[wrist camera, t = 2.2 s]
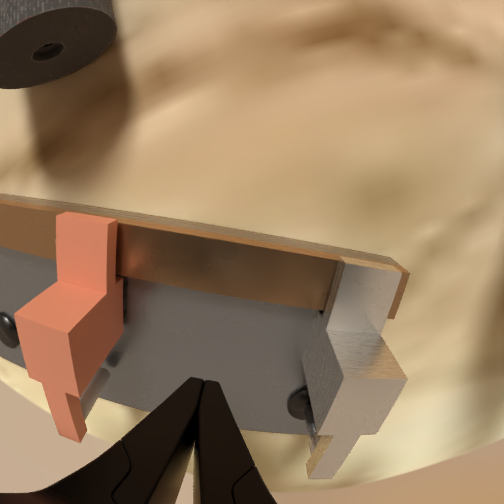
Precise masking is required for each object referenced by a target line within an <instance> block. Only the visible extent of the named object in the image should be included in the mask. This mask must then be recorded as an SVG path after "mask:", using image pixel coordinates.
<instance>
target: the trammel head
mask: <svg viewBox="0 0 504 504" xmlns="http://www.w3.org/2000/svg"><path fill="white" fill-rule="evenodd" d="M117 223H118V219H112V218H106V217H100V216H94V215H87V214H81V213H75V212H65V213H62V214H59V215H56V260H57V279H58V281H57V282H56V283H54V284H53V285H51V286H50V287H49V288H47V289H46V290H45V291H43V292H42V293H41V294H39V295H38V296H37V297H35V298H34V299H32V300H31V301H30V302H29V303H27V304H26V305H25V306H23V307H22V308H21V309H19V310H18V311H17V312H16V313H14V317H15V322H16V327H17V332H18V336H19V341H20V345H21V349H22V353H23V357H24V361H25V364H26V368H27V371H28V375H29V377H30V378H32V379H35V380H37V381H39V382H41V383H42V385H43V389H44V392H45V395H46V398H47V401H48V404H49V407H50V410H51V413H52V416H53V419H54V421H55V424H56V427H57V430H58V432H59V435H61V436H64V437H66V438H68V439H71V440H74V441H76V442H78V443H81V441H82V439H83V437H84V435H85V433H86V432H87V428H86V424H85V419H86V418H87V416H88V414H89V412H90V411H91V409H92V407H93V405H94V404H95V402H96V400H97V398H98V397H99V395H100V393H101V391H102V390H103V388H104V386H105V385H106V383H107V381H108V380H109V378H110V373H109V371H108V370H107V369H105V368H102V367H100V366H101V364H102V363H103V362H104V360H105V359H106V357H107V356H108V354H109V353H110V351H111V350H112V348H113V347H114V345H115V344H116V342H117V341H118V339H119V338H120V337H121V335H122V334H123V277H119V276H115V270H116V241H117ZM99 367H100V368H99Z"/></svg>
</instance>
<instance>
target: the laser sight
mask: <svg viewBox="0 0 504 504" xmlns="http://www.w3.org/2000/svg"><path fill="white" fill-rule="evenodd" d="M116 32H117V27H116V23H115V19H114V15H113V10H112V4H111V0H0V88H1V89H20V88H27V87H32V86H36V85H40V84H44V83H47V82H50V81H53V80H56V79H58V78H61V77H63V76H66V75H68V74H70V73H72V72H74V71H76V70H78V69H80V68H82V67H84V66H85V65H87V64H89V63H90V62H92V61H93V60H95V59H96V58H97V57H99V56H100V55H101V54H102V53H103V52H104V51H105V50H106V49H107V48H108V47H109V46H110V45H111V43H112V42H113V40H114V38H115V36H116Z"/></svg>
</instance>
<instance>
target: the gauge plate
mask: <svg viewBox="0 0 504 504" xmlns="http://www.w3.org/2000/svg"><path fill="white" fill-rule="evenodd" d="M65 212H75V213H81V214H87V215H94V216H100V217H106V218H112V219H118V223H117V241H116V270H115V276H119V277H123V334H122V335H121V337H120V338H119V339H118V341H117V342H116V344H115V345H114V347H113V348H112V350H111V351H110V353H109V354H108V356H107V357H106V359H105V360H104V362H103V363H102V364H101V366H100V367H102V368H105V369H107V370H108V371H109V373H110V378H109V380H108V381H107V383H106V385H105V386H104V388H103V390H102V391H101V393H100V395H99V397H100V398H103V399H106V400H109V401H112V402H116V403H119V404H122V405H126V406H129V407H133V408H137V409H140V410H144V411H148V412H152V411H153V410H154V409H155V408H157V407H158V406H159V405H160V404H161V403H162V402H163V401H164V400H165V399H167V398H168V397H169V396H170V395H171V394H172V393H173V392H174V391H175V390H176V389H178V388H179V387H180V386H181V385H182V384H183V383H184V382H185V381H186V380H187V379H188V378H190V377H196V378H201V379H203V380H204V381H205V380H212V381H217V382H219V383H220V385H221V388H222V390H223V393H224V395H225V398H226V400H227V402H228V405H229V407H230V410H231V412H232V414H233V417H234V419H235V421H236V424H237V426H238V428H239V429H245V430H254V431H264V432H275V433H289V434H308V439H309V446H310V452H311V456H310V458H309V460H308V462H307V464H306V468H307V475H308V479H332V477H333V476H334V475H335V473H336V472H337V470H338V469H339V468H340V466H341V465H342V463H343V462H344V460H345V459H346V457H347V456H348V454H349V453H350V451H351V450H352V448H353V447H354V445H355V443H356V442H357V440H358V439H359V437H360V435H373V434H376V433H377V432H378V430H379V428H380V427H381V425H382V424H383V422H384V420H385V419H386V417H387V415H388V414H389V412H390V410H391V409H392V407H393V405H394V403H395V402H396V400H397V398H398V396H399V394H400V393H401V391H402V389H403V387H404V385H405V383H406V381H407V380H408V379H407V377H406V375H405V374H404V372H403V370H402V369H401V367H400V366H399V364H398V362H397V361H396V359H395V358H394V356H393V354H392V353H391V351H390V350H389V348H388V346H387V345H386V343H385V342H384V340H383V339H382V337H381V336H380V334H381V332H382V329H383V327H384V324H385V321H386V319H387V318H388V319H394V318H395V315H396V312H397V310H398V307H399V304H400V301H401V298H402V296H403V293H404V290H405V287H406V284H407V281H408V278H409V275H410V273H409V272H408V271H407V270H405V269H404V268H403V267H402V266H400V265H399V264H398V263H397V262H395V261H394V260H393V259H392V258H390V257H385V256H380V255H375V254H370V253H365V252H360V251H354V250H349V249H344V248H338V247H333V246H328V245H322V244H317V243H311V242H306V241H300V240H295V239H289V238H284V237H278V236H272V235H267V234H261V233H255V232H250V231H244V230H238V229H232V228H226V227H220V226H214V225H208V224H202V223H196V222H190V221H184V220H178V219H172V218H166V217H159V216H153V215H147V214H140V213H134V212H127V211H121V210H114V209H107V208H101V207H94V206H87V205H80V204H73V203H66V202H59V201H52V200H45V199H37V198H30V197H23V196H15V195H7V194H0V356H1V357H3V358H5V359H7V360H9V361H11V362H13V363H15V364H17V365H19V366H21V367H23V368H25V369H27V368H26V364H25V361H24V357H23V353H22V349H21V345H20V341H19V336H18V332H17V327H16V322H15V317H14V313H16V312H17V311H18V310H19V309H21V308H22V307H23V306H25V305H26V304H27V303H29V302H30V301H31V300H32V299H34V298H35V297H37V296H38V295H39V294H41V293H42V292H43V291H45V290H46V289H47V288H49V287H50V286H51V285H53V284H54V283H56V282H57V281H58V279H57V260H56V215H59V214H62V213H65ZM100 367H99V368H100Z"/></svg>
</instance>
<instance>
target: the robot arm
mask: <svg viewBox="0 0 504 504" xmlns="http://www.w3.org/2000/svg"><path fill="white" fill-rule="evenodd" d="M194 443H195V445H194ZM193 448H194V485H193V488H194V489H193V490H194V493H193V494H194V495H193V499H194V501H193V504H277V503H276V501H275V500H274V498H273V497H272V495H271V494H270V492H269V490H268V489H267V487H266V485H265V483H264V481H263V479H262V478H261V476H260V473H259V471H258V469H257V467H255V463H254V461H253V459H252V457H251V455H250V453H249V450H248V448H247V446H246V444H245V442H244V439H243V437H242V435H241V433H240V430H239V428H238V426H237V424H236V421H235V419H234V417H233V414H232V412H231V410H230V407H229V405H228V402H227V400H226V398H225V395H224V393H223V390H222V388H221V385H220V383H219V382H217V381H212V380H205V381H204V380H203V379H201V378H196V377H190V378H188V379H187V380H186V381H185V382H184V383H183V384H182V385H181V386H180V387H179V388H178V389H176V390H175V391H174V392H173V393H172V394H171V395H170V396H169V397H168V398H167V399H165V400H164V401H163V402H162V403H161V404H160V405H159V406H158V407H157V408H155V409H154V410H153V411H152V412H151V413H150V414H149V415H148V416H146V417H145V418H144V419H143V420H142V421H141V422H140V423H139V424H137V425H136V426H135V427H134V428H133V429H132V430H131V431H129V432H128V433H127V434H126V435H125V436H124V437H122V438H121V440H119V441H118V442H116V443H115V444H114V445H113V446H112V447H111V448H109V449H108V450H107V451H105V452H104V453H103V454H102V455H100V456H99V457H98V458H96V459H95V460H93V461H92V462H90V463H88V464H87V465H85V466H84V467H82V468H80V469H79V470H77V471H75V472H74V473H72V474H70V475H68V476H67V477H65V478H64V479H61V480H60V481H58V482H56V483H54V484H52V485H51V486H49V487H47V488H44V489H42V490H39V491H35V492H29V493H0V504H175V502H176V499H177V496H178V493H179V490H180V487H181V484H182V481H183V478H184V475H185V472H186V469H187V466H188V463H189V460H190V457H191V454H192V451H193Z"/></svg>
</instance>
